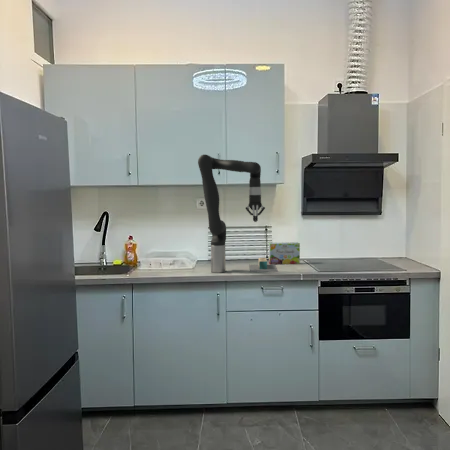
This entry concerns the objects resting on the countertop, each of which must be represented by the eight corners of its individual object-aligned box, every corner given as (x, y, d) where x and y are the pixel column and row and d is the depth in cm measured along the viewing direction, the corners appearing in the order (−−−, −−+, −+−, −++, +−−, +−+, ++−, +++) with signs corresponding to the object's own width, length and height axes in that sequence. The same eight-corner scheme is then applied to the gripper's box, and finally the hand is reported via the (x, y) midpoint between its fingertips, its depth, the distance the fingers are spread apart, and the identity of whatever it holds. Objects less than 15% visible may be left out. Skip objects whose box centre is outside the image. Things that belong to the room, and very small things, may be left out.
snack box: (270, 264, 300) (270, 243, 299) (268, 263, 305) (268, 242, 304) (299, 264, 301) (299, 242, 300) (298, 262, 307) (297, 241, 306)
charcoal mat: (249, 272, 270) (249, 271, 270) (249, 265, 298) (249, 264, 298) (278, 272, 269) (278, 271, 269) (275, 265, 297) (275, 264, 297)
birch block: (259, 261, 279) (258, 257, 294) (259, 269, 279) (258, 265, 295) (267, 261, 278) (265, 257, 294) (267, 269, 279) (265, 265, 295)
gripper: (265, 194, 272) (265, 221, 274) (244, 194, 273) (244, 221, 274) (265, 194, 265) (266, 222, 266) (244, 194, 266) (244, 222, 267)
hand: (255, 221), depth 270 cm, fingers closed
